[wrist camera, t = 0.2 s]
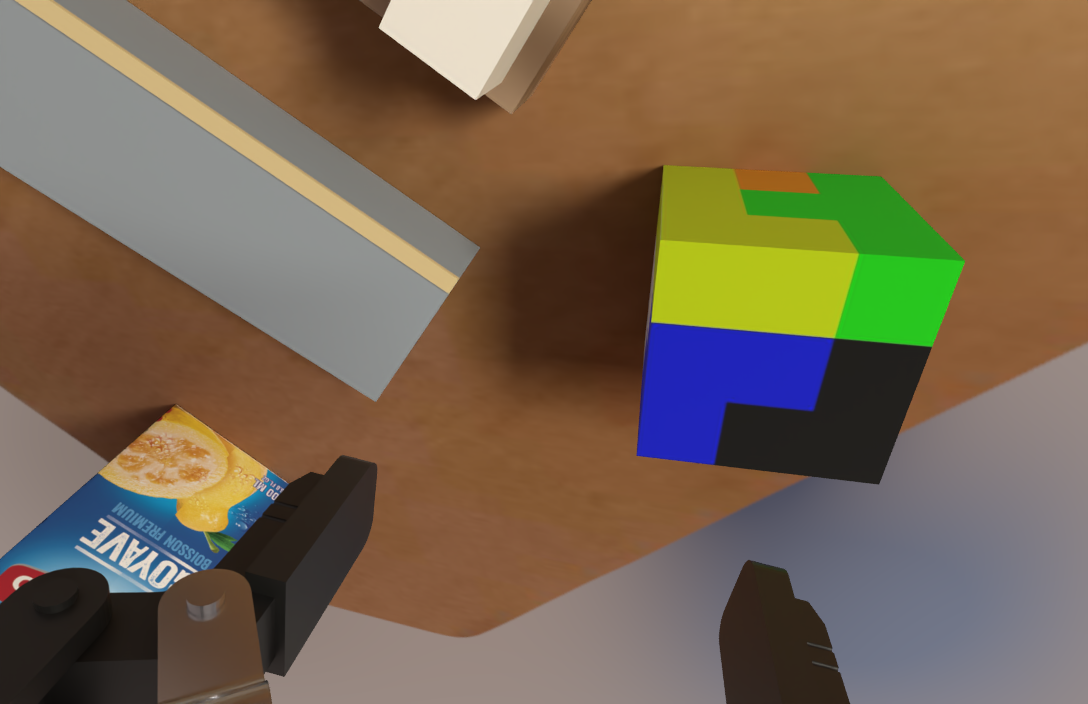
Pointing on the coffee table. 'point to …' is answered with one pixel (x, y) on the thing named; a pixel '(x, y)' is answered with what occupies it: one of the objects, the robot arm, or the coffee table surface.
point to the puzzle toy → (787, 320)
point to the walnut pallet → (527, 50)
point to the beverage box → (151, 511)
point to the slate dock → (220, 186)
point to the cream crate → (464, 36)
